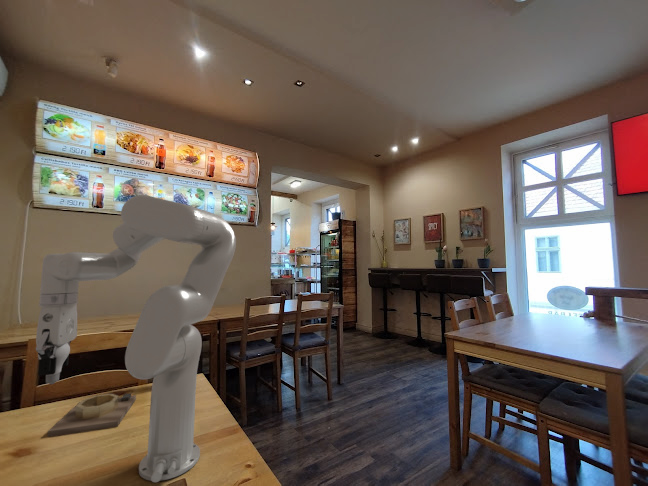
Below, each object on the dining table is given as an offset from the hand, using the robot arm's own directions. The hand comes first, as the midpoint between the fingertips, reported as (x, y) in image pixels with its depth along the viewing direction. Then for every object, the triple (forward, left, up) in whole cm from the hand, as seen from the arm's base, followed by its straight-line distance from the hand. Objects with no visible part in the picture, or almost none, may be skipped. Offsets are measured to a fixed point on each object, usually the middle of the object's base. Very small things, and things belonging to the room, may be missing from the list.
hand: (53, 369), depth 75 cm
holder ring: (+14, -6, -17) cm, 23 cm away
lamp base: (+14, -6, -19) cm, 24 cm away
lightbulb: (0, 0, -4) cm, 4 cm away
